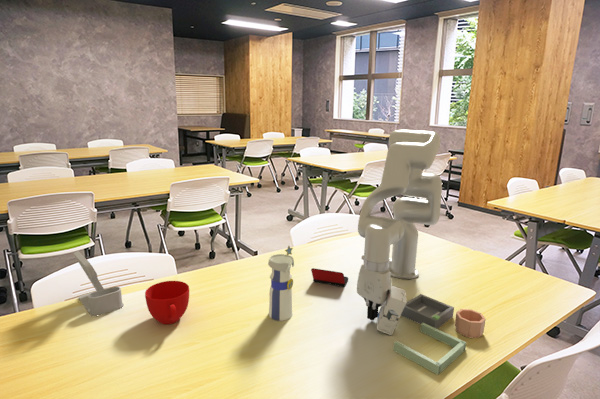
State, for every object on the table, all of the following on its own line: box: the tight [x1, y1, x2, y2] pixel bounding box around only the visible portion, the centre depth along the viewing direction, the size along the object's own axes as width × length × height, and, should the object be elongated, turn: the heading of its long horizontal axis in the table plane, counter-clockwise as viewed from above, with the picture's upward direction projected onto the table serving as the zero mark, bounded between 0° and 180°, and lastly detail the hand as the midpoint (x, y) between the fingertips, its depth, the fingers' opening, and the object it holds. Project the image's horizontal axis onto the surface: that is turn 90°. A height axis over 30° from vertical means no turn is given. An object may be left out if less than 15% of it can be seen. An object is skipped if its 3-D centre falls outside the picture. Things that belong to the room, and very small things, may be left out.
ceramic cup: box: [144, 280, 190, 325], centre depth 119 cm, size 13×17×10 cm
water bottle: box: [267, 245, 295, 321], centre depth 122 cm, size 8×9×25 cm
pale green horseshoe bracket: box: [392, 323, 467, 376], centre depth 108 cm, size 13×15×2 cm
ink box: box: [376, 284, 408, 336], centre depth 117 cm, size 9×5×12 cm, turn 168°
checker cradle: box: [400, 293, 455, 329], centre depth 125 cm, size 12×12×4 cm
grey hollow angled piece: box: [72, 250, 125, 317], centre depth 128 cm, size 17×10×18 cm, turn 43°
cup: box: [454, 308, 486, 339], centre depth 117 cm, size 8×8×5 cm
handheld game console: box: [310, 268, 349, 288], centre depth 148 cm, size 12×11×7 cm
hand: (372, 317), depth 122 cm, fingers closed
